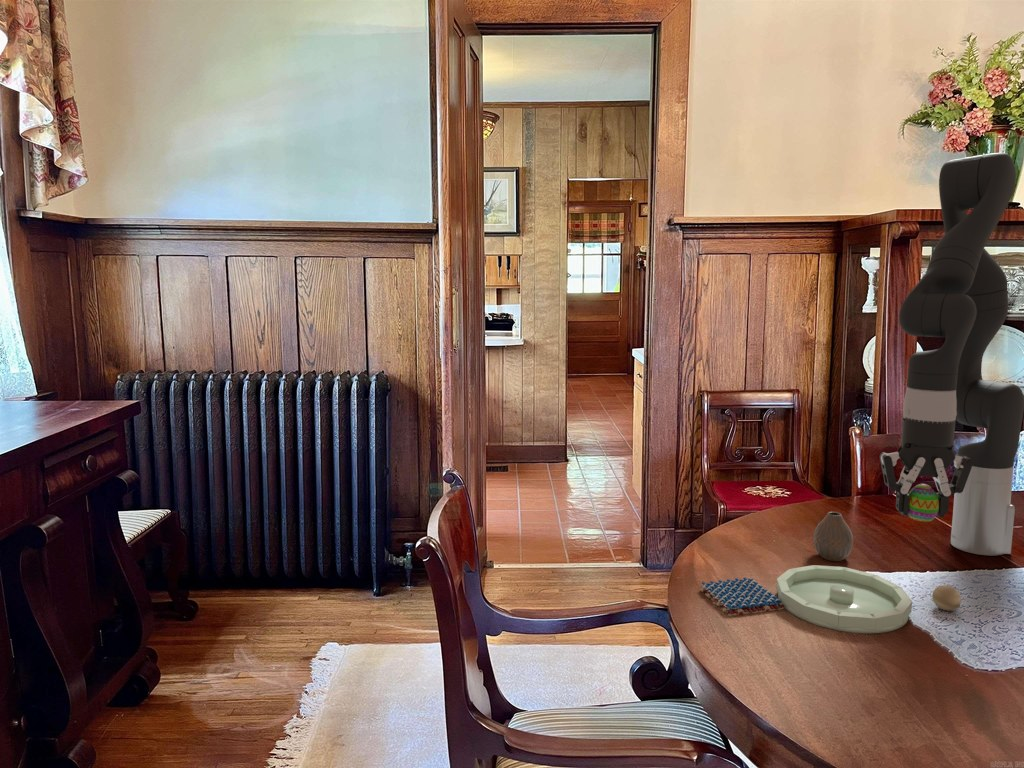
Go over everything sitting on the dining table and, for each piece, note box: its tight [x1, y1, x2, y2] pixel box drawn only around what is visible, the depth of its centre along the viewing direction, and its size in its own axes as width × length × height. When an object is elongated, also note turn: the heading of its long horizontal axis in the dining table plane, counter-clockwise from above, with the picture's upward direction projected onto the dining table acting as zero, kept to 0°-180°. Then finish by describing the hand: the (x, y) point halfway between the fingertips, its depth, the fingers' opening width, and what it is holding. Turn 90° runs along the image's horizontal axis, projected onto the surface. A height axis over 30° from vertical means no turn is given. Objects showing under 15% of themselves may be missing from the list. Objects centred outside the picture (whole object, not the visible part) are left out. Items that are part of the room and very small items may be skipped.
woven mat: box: [699, 577, 785, 617], centre depth 121 cm, size 10×11×2 cm
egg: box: [907, 483, 939, 522], centre depth 120 cm, size 5×5×6 cm
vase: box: [813, 511, 854, 562], centre depth 138 cm, size 7×7×9 cm
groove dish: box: [776, 564, 913, 634], centre depth 119 cm, size 20×20×3 cm
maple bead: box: [931, 584, 962, 612], centre depth 116 cm, size 4×4×4 cm
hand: (920, 514), depth 121 cm, fingers closed on egg, 5 cm apart
